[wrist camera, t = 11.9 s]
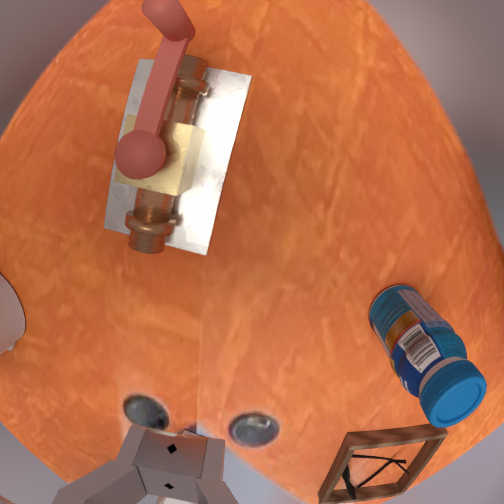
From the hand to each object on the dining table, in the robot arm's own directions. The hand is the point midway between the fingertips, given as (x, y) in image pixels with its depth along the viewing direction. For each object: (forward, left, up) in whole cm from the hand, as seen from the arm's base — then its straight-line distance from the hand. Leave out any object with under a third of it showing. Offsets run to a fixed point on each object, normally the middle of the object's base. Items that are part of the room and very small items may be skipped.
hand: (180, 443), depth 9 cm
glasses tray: (+32, -48, -31) cm, 66 cm away
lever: (-8, +13, -22) cm, 27 cm away
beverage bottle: (+22, -10, -31) cm, 40 cm away
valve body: (-9, +8, -31) cm, 33 cm away
